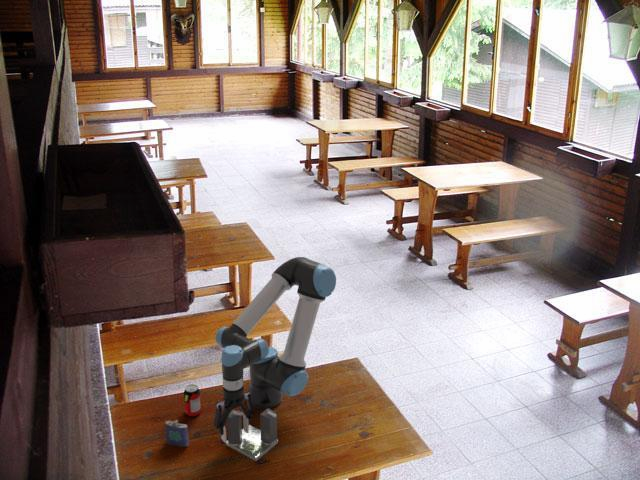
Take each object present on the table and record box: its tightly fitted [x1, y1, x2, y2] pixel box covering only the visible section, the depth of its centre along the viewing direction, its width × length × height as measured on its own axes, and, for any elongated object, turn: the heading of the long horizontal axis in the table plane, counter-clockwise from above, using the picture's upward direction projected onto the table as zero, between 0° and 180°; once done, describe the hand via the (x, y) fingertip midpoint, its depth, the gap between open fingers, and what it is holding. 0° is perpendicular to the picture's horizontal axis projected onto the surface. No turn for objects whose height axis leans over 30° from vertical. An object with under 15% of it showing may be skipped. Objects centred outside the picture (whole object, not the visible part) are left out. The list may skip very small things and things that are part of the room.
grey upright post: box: [227, 409, 245, 444], centre depth 242 cm, size 6×4×13 cm
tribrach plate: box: [225, 424, 279, 462], centre depth 244 cm, size 16×14×3 cm
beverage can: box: [183, 384, 202, 417], centre depth 260 cm, size 6×6×12 cm
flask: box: [164, 419, 190, 448], centre depth 242 cm, size 9×3×11 cm, turn 74°
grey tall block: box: [259, 408, 278, 445], centre depth 242 cm, size 6×4×13 cm
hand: (235, 435), depth 243 cm, fingers open, 9 cm apart
